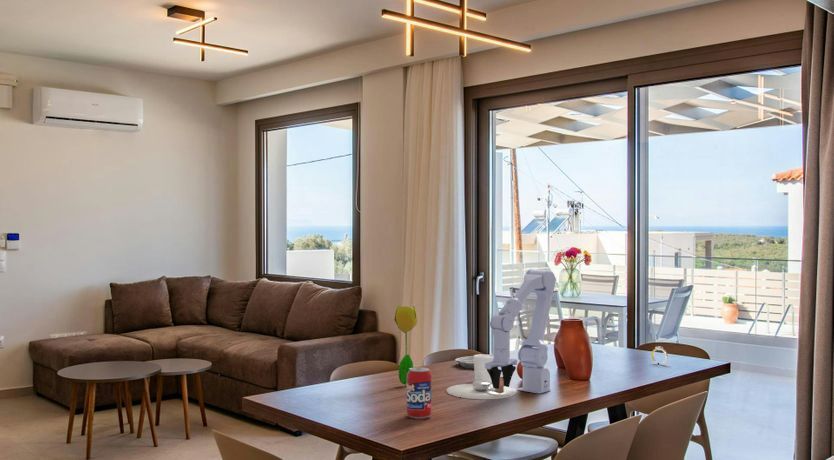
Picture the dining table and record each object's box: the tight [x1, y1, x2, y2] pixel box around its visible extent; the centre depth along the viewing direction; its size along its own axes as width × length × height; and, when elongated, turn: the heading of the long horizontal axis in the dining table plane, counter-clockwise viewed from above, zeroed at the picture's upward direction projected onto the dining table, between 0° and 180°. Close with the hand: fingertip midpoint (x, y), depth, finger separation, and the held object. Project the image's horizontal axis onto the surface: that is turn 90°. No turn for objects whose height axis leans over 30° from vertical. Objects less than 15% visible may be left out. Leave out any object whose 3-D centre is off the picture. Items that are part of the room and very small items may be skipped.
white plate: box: [446, 383, 517, 401], centre depth 274 cm, size 25×25×1 cm
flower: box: [393, 305, 418, 387], centre depth 284 cm, size 9×8×30 cm
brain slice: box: [454, 355, 474, 370], centre depth 326 cm, size 20×17×3 cm
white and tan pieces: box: [472, 376, 504, 394], centre depth 271 cm, size 15×6×6 cm, turn 34°
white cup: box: [473, 353, 493, 384], centre depth 292 cm, size 8×8×10 cm
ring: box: [650, 345, 669, 364], centre depth 333 cm, size 7×3×8 cm, turn 43°
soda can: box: [406, 366, 433, 420], centre depth 237 cm, size 8×8×15 cm
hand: (501, 387), depth 267 cm, fingers open, 5 cm apart
